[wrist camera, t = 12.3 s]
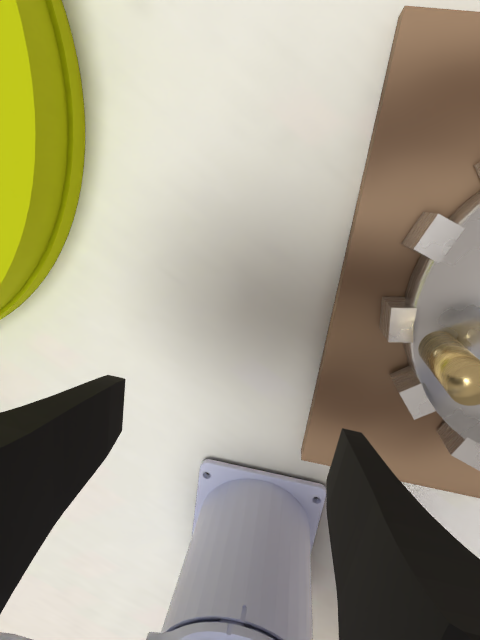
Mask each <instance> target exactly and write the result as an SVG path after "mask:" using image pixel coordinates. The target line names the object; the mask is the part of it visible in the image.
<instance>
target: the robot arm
mask: <svg viewBox="0 0 480 640" xmlns="http://www.w3.org/2000/svg"><path fill="white" fill-rule="evenodd" d="M124 391H125V379H124V378H119V377H115V376H110V375H107V376H103V377H100V378H97V379H95V380H92V381H89V382H87V383H84V384H82V385H79V386H77V387H74V388H71V389H69V390H66V391H64V392H61V393H58V394H56V395H53V396H50V397H48V398H45V399H42V400H39V401H36V402H33V403H30V404H27V405H24V406H22V407H18V408H15V409H12V410H8V411H5V412H1V413H0V614H1V612H2V610H3V608H4V607H5V605H6V603H7V601H8V600H9V598H10V596H11V595H12V593H13V591H14V589H15V588H16V586H17V584H18V583H19V581H20V580H21V578H22V576H23V575H24V573H25V571H26V570H27V568H28V566H29V565H30V563H31V561H32V560H33V558H34V556H35V555H36V553H37V552H38V550H39V549H40V547H41V545H42V544H43V542H44V541H45V539H46V537H47V536H48V534H49V533H50V531H51V530H52V528H53V526H54V525H55V524H56V522H57V521H58V519H59V518H60V517H61V515H62V514H63V512H64V511H65V510H66V509H67V507H68V506H69V505H70V504H71V502H72V501H73V500H74V498H75V497H76V496H77V495H78V493H79V492H80V491H81V489H82V488H83V487H84V486H85V484H86V483H87V482H88V480H89V479H90V478H91V477H92V475H93V474H94V473H95V471H96V470H97V469H98V467H99V466H100V465H101V464H102V462H103V461H104V460H105V458H106V457H107V455H108V454H109V452H110V450H111V449H112V447H113V445H114V444H115V442H116V440H117V438H118V437H119V435H120V433H121V431H122V422H123V406H124ZM205 472H208V473H209V474H210V475H207V474H206V473H205ZM314 497H319V498H318V499H315V498H314ZM325 498H326V488H325V486H323V485H322V484H320V483H315V482H311V481H306V480H302V479H297V478H293V477H288V476H283V475H279V474H274V473H270V472H265V471H261V470H256V469H252V468H247V467H242V466H238V465H233V464H229V463H224V462H220V461H215V460H211V459H206V460H204V461H202V464H201V466H200V473H199V481H198V489H197V497H196V506H195V514H194V522H193V531H192V538H191V541H190V545H189V548H188V551H187V554H186V557H185V560H184V563H183V566H182V569H181V572H180V575H179V579H178V582H177V585H176V588H175V591H174V594H173V597H172V600H171V603H170V606H169V609H168V613H167V616H166V619H165V622H164V625H163V628H162V631H161V633H157V632H149V633H148V636H147V639H146V640H313V629H312V592H311V551H312V547H313V543H314V539H315V536H316V532H317V528H318V524H319V521H320V517H321V513H322V509H323V505H324V502H325ZM327 518H328V526H329V534H330V542H331V549H332V557H333V565H334V572H335V580H336V588H337V600H338V622H339V640H480V559H479V558H477V557H476V556H475V555H474V554H473V553H471V552H470V551H469V550H468V549H467V548H466V547H464V546H463V545H462V544H461V543H460V542H459V541H458V540H457V539H455V538H454V537H453V536H452V535H451V534H450V533H449V532H448V531H447V530H446V529H445V528H444V527H443V526H442V525H441V524H440V523H439V522H438V521H436V520H435V519H434V518H433V517H432V516H431V515H430V514H429V513H428V512H427V511H426V509H425V508H424V507H423V506H422V505H421V504H420V503H419V502H418V501H417V500H416V499H415V498H414V496H413V495H412V494H411V493H410V492H409V491H408V490H407V489H406V487H405V486H404V485H403V484H402V483H401V482H400V480H399V479H398V478H397V477H396V476H395V474H394V473H393V472H392V471H391V469H390V468H389V467H388V466H387V464H386V463H385V462H384V461H383V459H382V458H381V457H380V455H379V454H378V453H377V451H376V450H375V449H374V448H373V446H372V445H371V444H370V442H369V441H368V440H367V438H366V437H365V436H364V435H363V434H362V432H357V431H353V430H348V429H344V428H342V430H341V433H340V437H339V440H338V443H337V447H336V450H335V453H334V457H333V460H332V464H331V467H330V470H329V474H328V477H327ZM0 640H32V639H29V638H25V637H22V636H19V635H16V634H10V633H1V632H0Z"/></svg>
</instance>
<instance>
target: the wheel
mask: <svg viewBox="0 0 480 640" xmlns="http://www.w3.org/2000/svg"><path fill="white" fill-rule="evenodd" d="M474 167H475V169H476V171H477V173H478V176H479V178H480V162H479V163H477V164H476V165H474ZM401 244H402V245H404V246H406V247H408V248H410V249H411V250H413V251H415V252H417V253H418V254H420V255H421V256H420V257H419V260H418V262H417V264H416V266H415V268H414V270H413V273H412V275H411V277H410V281H409V284H408V287H407V290H406V293H405V297H382V301H381V314H380V326H379V328H380V330H381V331H382V333H383V334H384V336H385V338H386V339H387V341H388V342H402V343H403V345H404V350H405V353H406V357H407V360H408V364H409V365H408V366H406V367H404V368H402V369H399V370H397V371H395V372H393V373H390V376H391V378H392V380H393V382H394V384H395V386H396V388H397V390H398V392H399V394H400V396H401V397H402V399H403V401H404V403H405V404H406V406H407V408H408V410H409V411H410V413H411V415H412V417H413V419H414V420H415V419H417V418H420V417H422V416H425V415H427V414H430V413H432V412H435V411H437V413H438V414H439V415H440V416H441V417H442V419H443V420H444V421H445V422H444V423H443V424H442V425H441V426H440V428H439V429H438V430H437V432H438V434H439V436H440V437H441V439H442V441H443V443H444V444H445V446H446V448H447V449H448V451H449V453H450V455H451V456H453V457H455V458H457V459H459V460H460V461H462V462H464V463H466V464H468V465H470V466H471V467H473V468H475V469H477V470H479V471H480V191H479V192H477V193H476V194H475V195H474V196H472V197H471V198H470V199H468V200H467V201H466V202H465V203H463V204H462V205H461V206H460V207H459V208H458V209H457V210H456V211H455V212H454V213H453V214H452V215H451V216H450V217H449V218H448V219H447V218H446V217H444V216H442V215H440V214H438V213H428V212H423V213H422V214H421V216H420V217H419V219H418V220H417V222H416V223H415V224H414V226H413V227H412V229H411V230H410V232H409V233H408V235H407V236H406V238H405V239H404V241H403V242H402V243H401Z"/></svg>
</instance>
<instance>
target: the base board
mask: <svg viewBox="0 0 480 640" xmlns="http://www.w3.org/2000/svg"><path fill="white" fill-rule="evenodd" d="M479 162H480V12H473V11H461V10H449V9H437V8H425V7H413V6H404V8H403V10H402V12H401V14H400V16H399V18H398V22H397V27H396V31H395V36H394V40H393V44H392V49H391V53H390V58H389V62H388V67H387V71H386V75H385V80H384V84H383V89H382V93H381V98H380V102H379V107H378V111H377V115H376V120H375V124H374V129H373V133H372V138H371V142H370V147H369V151H368V155H367V160H366V164H365V169H364V173H363V178H362V182H361V186H360V191H359V195H358V200H357V204H356V209H355V213H354V218H353V222H352V226H351V231H350V235H349V240H348V244H347V249H346V253H345V257H344V262H343V266H342V271H341V275H340V280H339V284H338V289H337V293H336V297H335V302H334V306H333V311H332V315H331V320H330V324H329V329H328V333H327V337H326V342H325V346H324V351H323V355H322V360H321V364H320V368H319V373H318V377H317V382H316V386H315V391H314V395H313V400H312V404H311V408H310V413H309V417H308V422H307V426H306V431H305V435H304V439H303V444H302V448H301V460H304V461H309V462H313V463H318V464H323V465H327V466H331V464H332V460H333V457H334V453H335V450H336V447H337V443H338V440H339V437H340V433H341V430H342V428H344V429H348V430H353V431H357V432H362V434H363V435H364V436H365V437H366V438H367V440H368V441H369V442H370V444H371V445H372V446H373V448H374V449H375V450H376V451H377V453H378V454H379V455H380V457H381V458H382V459H383V461H384V462H385V463H386V464H387V466H388V467H389V468H390V469H391V471H392V472H393V473H394V474H395V476H396V477H397V478H398V479H399V480H400V481H402V482H407V483H411V484H416V485H421V486H425V487H430V488H435V489H439V490H444V491H449V492H453V493H458V494H463V495H467V496H472V497H477V498H480V471H479V470H477V469H475V468H473V467H471V466H470V465H468V464H466V463H464V462H462V461H460V460H459V459H457V458H455V457H453V456H451V455H450V453H449V451H448V449H447V448H446V446H445V444H444V443H443V441H442V439H441V437H440V436H439V434H438V432H437V430H438V429H439V428H440V426H441V425H442V424H443V423H444V422H445V421H444V420H443V419H442V417H441V416H440V415H439V414H438V413H437V411H435V412H432V413H430V414H427V415H425V416H422V417H420V418H417V419H415V420H414V419H413V417H412V415H411V413H410V411H409V410H408V408H407V406H406V404H405V403H404V401H403V399H402V397H401V396H400V394H399V392H398V390H397V388H396V386H395V384H394V382H393V380H392V378H391V376H390V373H393V372H395V371H397V370H399V369H402V368H404V367H406V366H408V365H409V364H408V360H407V357H406V353H405V350H404V345H403V343H402V342H388V341H387V339H386V338H385V336H384V334H383V333H382V331H381V330H380V328H379V326H380V314H381V301H382V297H405V293H406V290H407V287H408V284H409V281H410V277H411V275H412V273H413V270H414V268H415V266H416V264H417V262H418V260H419V257H420V256H421V255H420V254H418V253H417V252H415V251H413V250H411V249H410V248H408V247H406V246H404V245H402V244H401V243H402V242H403V241H404V239H405V238H406V236H407V235H408V233H409V232H410V230H411V229H412V227H413V226H414V224H415V223H416V222H417V220H418V219H419V217H420V216H421V214H422V213H423V212H428V213H438V214H440V215H442V216H444V217H446V218H447V219H448V218H449V217H450V216H451V215H452V214H453V213H454V212H455V211H456V210H457V209H458V208H459V207H460V206H461V205H462V204H463V203H465V202H466V201H467V200H468V199H470V198H471V197H472V196H474V195H475V194H476V193H477V192H479V191H480V178H479V176H478V173H477V171H476V169H475V167H474V165H476V164H477V163H479Z"/></svg>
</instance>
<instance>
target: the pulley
mask: <svg viewBox="0 0 480 640" xmlns="http://www.w3.org/2000/svg"><path fill="white" fill-rule="evenodd" d="M84 155H85V115H84V101H83V91H82V83H81V77H80V71H79V65H78V59H77V55H76V50H75V46H74V41H73V37H72V33H71V30H70V26H69V22H68V19H67V15H66V12H65V9H64V6H63V3H62V0H0V319H2V318H3V317H5V316H7V315H8V314H10V313H11V312H12V311H14V310H15V309H16V308H17V307H19V306H20V305H21V304H22V303H23V302H24V301H25V300H26V299H28V298H29V297H30V296H31V294H32V293H33V292H34V291H35V290H36V289H37V288H38V287H39V285H40V284H41V283H42V281H43V280H44V279H45V277H46V276H47V275H48V273H49V271H50V270H51V268H52V267H53V265H54V264H55V262H56V260H57V258H58V256H59V254H60V252H61V250H62V248H63V246H64V243H65V241H66V239H67V236H68V234H69V231H70V228H71V225H72V222H73V219H74V215H75V212H76V208H77V204H78V200H79V194H80V189H81V184H82V176H83V168H84Z"/></svg>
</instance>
